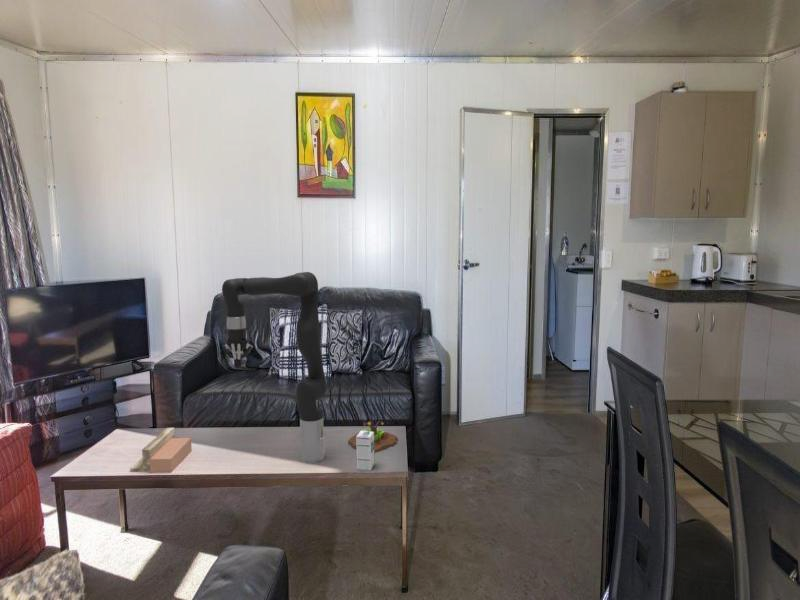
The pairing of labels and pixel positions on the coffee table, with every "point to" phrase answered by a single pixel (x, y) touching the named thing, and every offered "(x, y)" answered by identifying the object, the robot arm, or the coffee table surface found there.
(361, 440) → the syrup box
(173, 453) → the terracotta block
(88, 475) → the coffee table surface
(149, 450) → the beige ridged rail
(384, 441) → the plant
